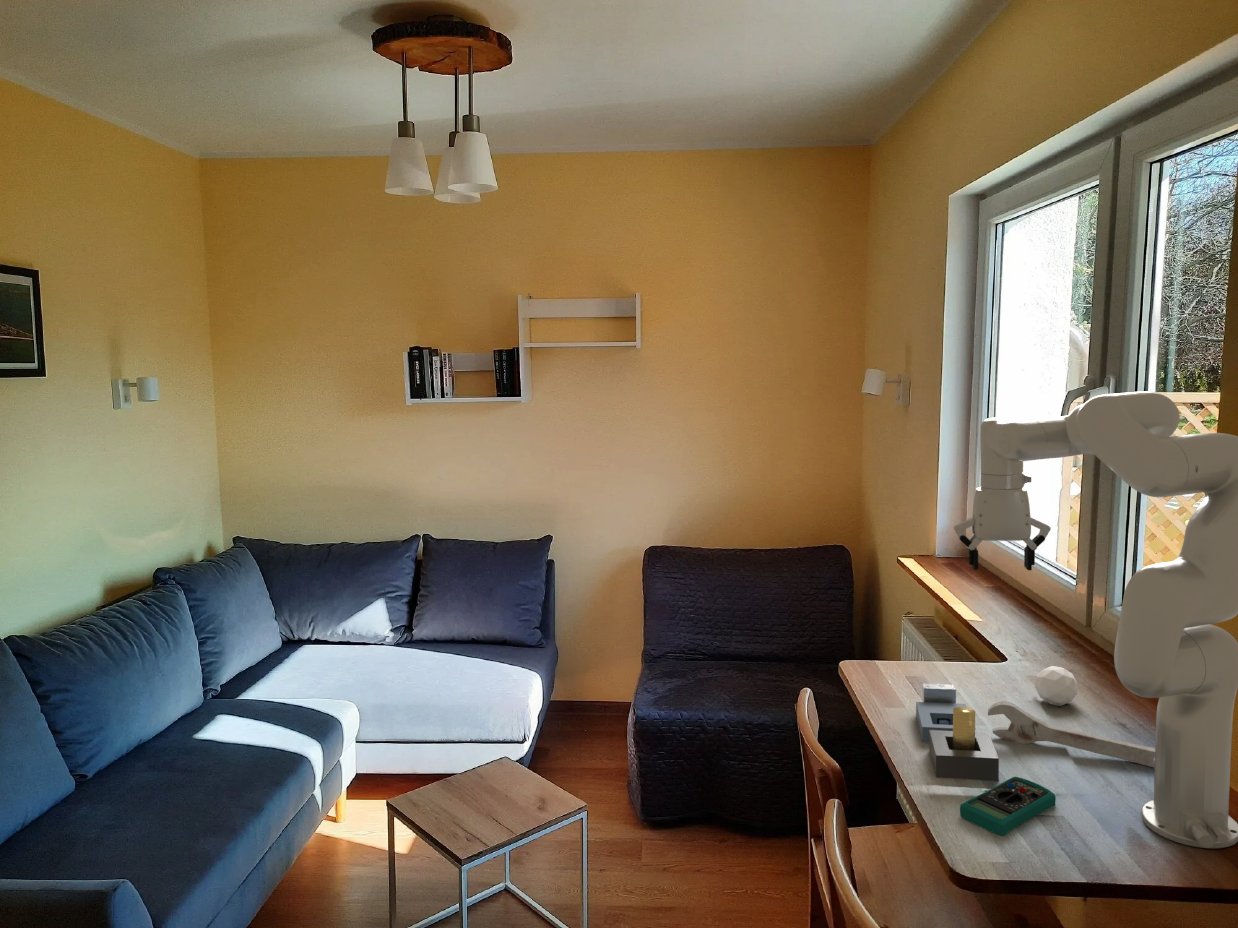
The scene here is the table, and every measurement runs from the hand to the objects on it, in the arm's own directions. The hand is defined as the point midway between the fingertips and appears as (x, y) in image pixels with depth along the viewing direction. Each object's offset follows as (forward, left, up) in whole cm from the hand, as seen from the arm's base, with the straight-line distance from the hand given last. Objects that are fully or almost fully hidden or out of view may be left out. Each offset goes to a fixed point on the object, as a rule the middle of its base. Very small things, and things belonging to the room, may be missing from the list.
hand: (1001, 568), depth 170 cm
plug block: (-5, +12, -30) cm, 32 cm away
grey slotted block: (-24, +10, -30) cm, 40 cm away
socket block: (-10, +12, -30) cm, 34 cm away
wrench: (-15, -10, -31) cm, 36 cm away
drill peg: (-24, +10, -29) cm, 39 cm away
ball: (+8, -12, -31) cm, 34 cm away
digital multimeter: (-37, +5, -31) cm, 49 cm away
